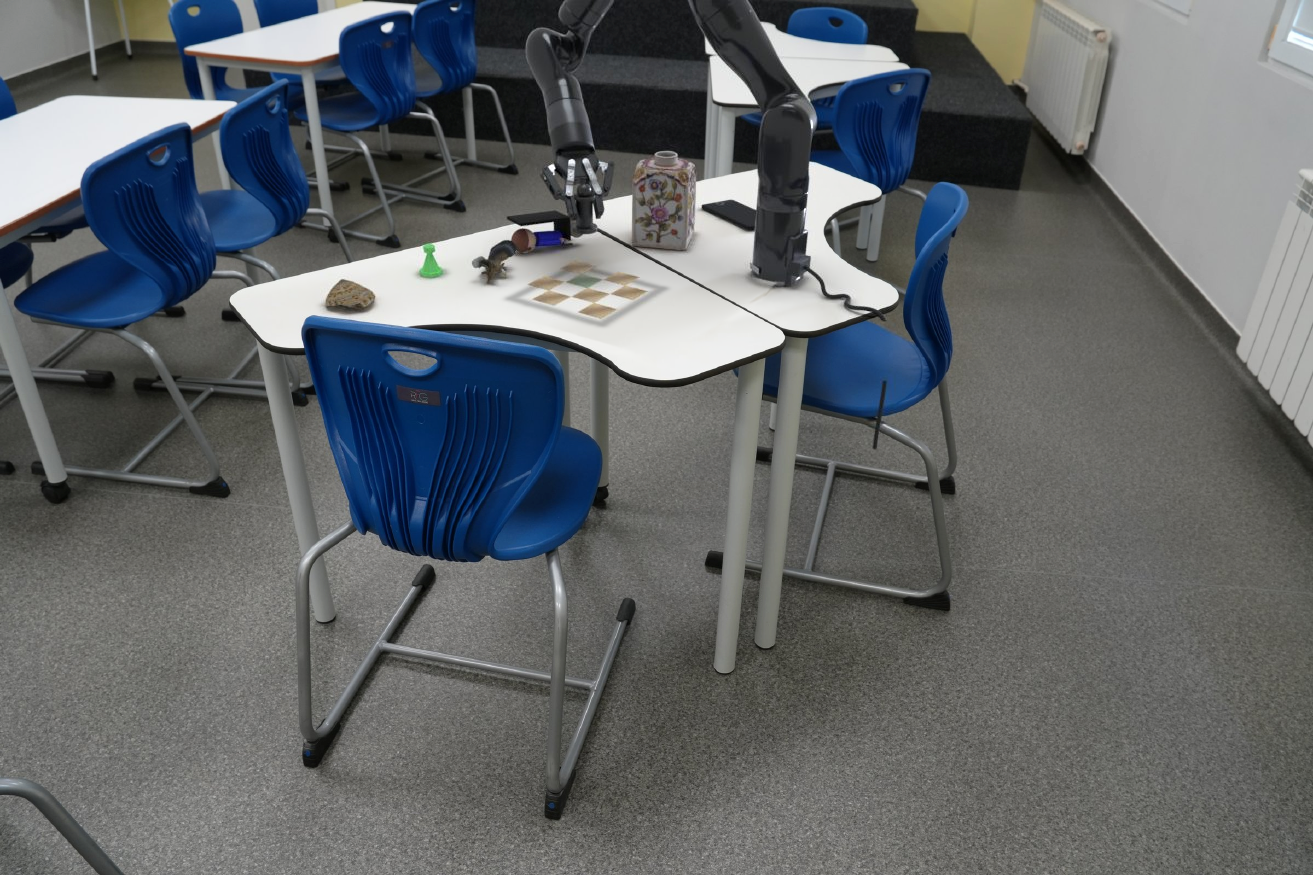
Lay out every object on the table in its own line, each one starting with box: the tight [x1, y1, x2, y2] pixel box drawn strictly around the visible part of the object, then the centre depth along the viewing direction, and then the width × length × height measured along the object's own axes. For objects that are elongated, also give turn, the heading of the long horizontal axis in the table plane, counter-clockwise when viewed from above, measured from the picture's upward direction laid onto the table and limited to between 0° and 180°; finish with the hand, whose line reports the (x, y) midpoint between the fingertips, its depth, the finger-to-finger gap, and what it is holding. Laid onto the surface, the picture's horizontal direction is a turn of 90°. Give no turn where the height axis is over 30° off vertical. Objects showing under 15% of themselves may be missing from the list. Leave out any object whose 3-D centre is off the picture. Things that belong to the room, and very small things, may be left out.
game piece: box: [419, 242, 444, 279], centre depth 184 cm, size 4×4×6 cm
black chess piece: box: [572, 183, 598, 235], centre depth 174 cm, size 5×5×8 cm
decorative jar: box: [631, 150, 698, 251], centre depth 200 cm, size 12×12×18 cm
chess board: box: [527, 260, 649, 320], centre depth 179 cm, size 20×20×1 cm
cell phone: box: [701, 199, 756, 231], centre depth 219 cm, size 9×18×1 cm, turn 33°
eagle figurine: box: [471, 239, 517, 285], centre depth 184 cm, size 8×7×9 cm
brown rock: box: [325, 278, 377, 310], centre depth 171 cm, size 8×6×8 cm
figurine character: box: [506, 209, 584, 254], centre depth 198 cm, size 7×8×15 cm
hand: (587, 217), depth 173 cm, fingers closed on black chess piece, 3 cm apart
